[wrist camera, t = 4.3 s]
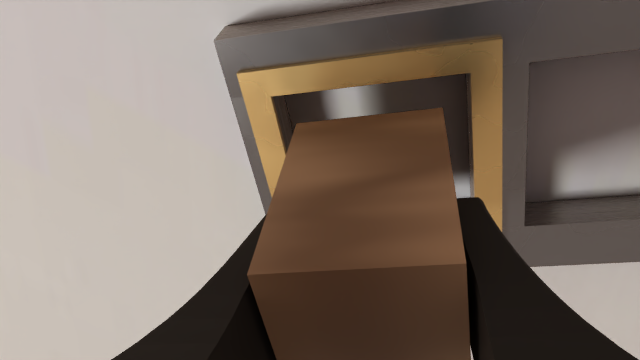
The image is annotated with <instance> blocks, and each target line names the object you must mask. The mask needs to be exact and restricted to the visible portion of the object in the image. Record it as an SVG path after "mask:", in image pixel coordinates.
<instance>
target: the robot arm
mask: <svg viewBox="0 0 640 360" xmlns="http://www.w3.org/2000/svg"><path fill="white" fill-rule="evenodd" d="M457 205H458V212H459V218H460V225H461V232H462V238H463V245H464V251H465V258H466V267H467V289H468V311H469V332H470V346H471V350H472V354H473V359H474V360H638V359H637V358H635V357H634V356H632V355H631V354H629V353H628V352H626V351H625V350H623V349H622V348H620V347H619V346H618V345H617V344H615V343H614V342H613V341H611V340H610V339H609V338H607V337H606V336H605V335H603V334H602V333H601V332H599V331H598V330H597V329H596V328H594V327H593V326H592V325H590V324H589V323H588V322H586V321H585V320H584V319H583V318H582V317H580V316H579V315H578V314H577V313H576V312H575V311H574V310H572V309H571V308H570V307H569V306H568V305H567V304H566V303H565V302H563V301H562V300H561V299H560V298H559V297H558V296H557V295H556V294H555V293H554V292H553V291H552V290H551V289H550V288H549V287H548V286H547V285H546V284H545V283H544V282H543V281H542V280H541V279H540V278H539V277H538V276H537V275H536V273H535V272H534V271H533V270H532V269H531V268H530V267H529V266H528V265H527V263H526V262H525V261H524V260H523V259H522V257H521V256H520V255H519V254H518V253H517V251H516V250H515V249H514V247H513V246H512V245H511V244H510V242H509V241H508V240H507V239H506V237H505V236H504V234H503V233H502V232H501V230H500V229H499V227H498V226H497V224H496V223H495V221H494V220H493V218H492V217H491V215H490V213H489V212H488V210H487V208H486V206H485V204H484V202H483V200H481V199H480V198H479V197H471V198H458V199H457ZM266 215H267V214H266ZM266 215H265V217H264V218H263V219H262V220H261V221H260V222H259V224H258V225H257V226H256V227H255V228H254V230H253V231H252V232H251V233H250V235H249V236H248V237H247V238H246V239H245V241H244V242H243V243H242V244H241V245H240V247H239V248H238V249H237V250H236V251H235V253H234V254H233V255H232V256H231V257H230V258H229V259H228V261H227V262H226V263H225V264H224V265H223V266H222V267H221V269H220V270H219V271H218V272H217V273H216V274H215V275H214V276H213V277H212V278H211V279H210V280H209V281H208V282H207V283H206V284H205V285H204V286H203V287H202V289H200V290H199V291H198V292H197V293H196V294H195V295H194V296H193V297H192V298H191V299H190V300H189V301H188V302H187V303H186V304H184V305H183V306H182V307H181V308H180V309H179V310H178V311H176V312H175V313H174V314H173V315H172V316H171V317H169V318H168V319H167V320H166V321H164V322H163V323H162V324H161V325H159V326H158V327H157V328H155V329H154V330H153V331H151V332H150V333H149V334H147V335H146V336H145V337H143V338H142V339H141V340H140V341H138V342H137V343H135V344H134V345H133V346H131V347H130V348H128V349H127V350H125V351H124V352H122V353H121V354H119V355H118V356H116V357H115V358H113V359H111V360H277V359H276V357H275V354H274V351H273V348H272V345H271V342H270V339H269V336H268V334H267V331H266V328H265V325H264V322H263V319H262V316H261V314H260V311H259V308H258V305H257V302H256V299H255V296H254V293H253V291H252V288H251V285H250V282H249V279H248V276H247V273H248V270H249V267H250V264H251V261H252V258H253V255H254V252H255V249H256V246H257V243H258V240H259V237H260V233H261V230H262V227H263V224H264V221H265V218H266Z"/></svg>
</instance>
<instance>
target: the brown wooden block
mask: <svg viewBox="0 0 640 360" xmlns="http://www.w3.org/2000/svg"><path fill="white" fill-rule="evenodd" d="M247 276H248V279H249V282H250V285H251V288H252V291H253V293H254V296H255V299H256V302H257V305H258V308H259V311H260V314H261V316H262V319H263V322H264V325H265V328H266V331H267V334H268V336H269V339H270V342H271V345H272V348H273V351H274V354H275V357H276V359H277V360H471V354H470V332H469V311H468V289H467V267H466V258H465V251H464V245H463V238H462V232H461V225H460V218H459V212H458V205H457V199H456V192H455V185H454V179H453V172H452V166H451V159H450V152H449V146H448V139H447V133H446V126H445V119H444V113H443V107H442V108H433V109H424V110H415V111H406V112H396V113H387V114H378V115H369V116H360V117H350V118H341V119H332V120H323V121H314V122H304V123H296V126H295V129H294V133H293V136H292V139H291V142H290V145H289V148H288V151H287V154H286V157H285V160H284V163H283V166H282V169H281V172H280V175H279V178H278V181H277V185H276V188H275V191H274V194H273V197H272V200H271V203H270V206H269V209H268V212H267V215H266V218H265V221H264V224H263V227H262V230H261V233H260V237H259V240H258V243H257V246H256V249H255V252H254V255H253V258H252V261H251V264H250V267H249V270H248V273H247Z"/></svg>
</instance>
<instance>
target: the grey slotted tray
mask: <svg viewBox="0 0 640 360" xmlns="http://www.w3.org/2000/svg"><path fill="white" fill-rule="evenodd" d="M214 44H215V47H216V50H217V54H218V57H219V60H220V64H221V67H222V70H223V74H224V77H225V80H226V84H227V87H228V91H229V94H230V97H231V101H232V104H233V107H234V111H235V114H236V117H237V121H238V124H239V127H240V131H241V134H242V137H243V141H244V144H245V147H246V151H247V154H248V157H249V161H250V164H251V167H252V171H253V174H254V177H255V181H256V184H257V187H258V191H259V194H260V197H261V201H262V204H263V207H264V211H265V214H267V212H268V209H269V206H270V203H271V200H272V197H273V194H274V191H275V188H276V185H277V181H278V178H279V175H280V172H281V169H282V166H283V163H284V160H285V157H286V154H287V151H288V148H289V145H290V142H291V139H292V136H293V130H292V126H291V122H290V118H289V114H288V110H287V105H286V101H285V97H284V95H288V94H297V93H305V92H313V91H322V90H330V89H339V88H347V87H355V86H364V85H372V84H381V83H389V82H397V81H406V80H414V79H423V78H431V77H439V76H448V75H456V74H465V73H466V82H467V109H468V136H469V163H470V190H471V197H479V198H480V199H481V200H483V202H484V204H485V206H486V208H487V210H488V212H489V213H490V215H491V217H492V218H493V220H494V221H495V223H496V224H497V226H498V227H499V229H500V230H501V232H502V233H503V234H504V236H505V237H506V239H507V240H508V241H509V242H510V244H511V245H512V246H513V247H514V249H515V250H516V251H517V253H518V254H519V255H520V256H521V257H522V259H523V260H524V261H525V262H526V263H527V265H528V266H529V267H538V266H559V265H580V264H601V263H623V262H640V195H635V196H620V197H606V198H592V199H578V200H563V201H549V202H535V203H525V189H526V157H527V125H528V93H529V63H530V62H539V61H547V60H555V59H564V58H572V57H580V56H589V55H597V54H605V53H613V52H622V51H630V50H638V49H640V0H398V1H391V2H385V3H378V4H371V5H365V6H358V7H351V8H345V9H338V10H331V11H324V12H318V13H311V14H304V15H298V16H291V17H284V18H278V19H271V20H264V21H258V22H251V23H244V24H237V25H231V26H225V27H224V28H223V30H222V31H221V32H220V33H219V35H218V36H217V37H216V38H215V40H214Z"/></svg>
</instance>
